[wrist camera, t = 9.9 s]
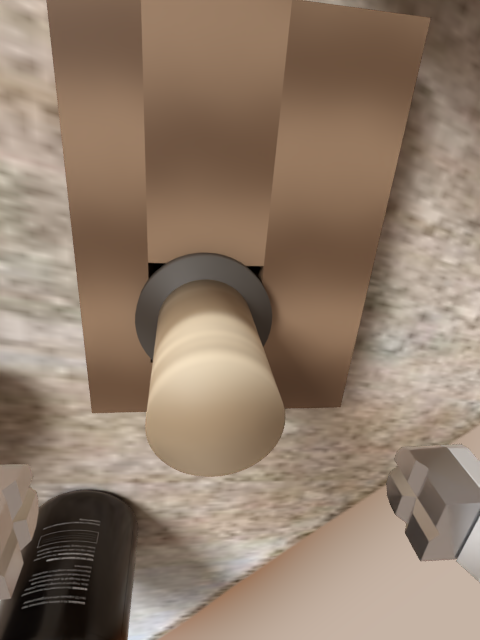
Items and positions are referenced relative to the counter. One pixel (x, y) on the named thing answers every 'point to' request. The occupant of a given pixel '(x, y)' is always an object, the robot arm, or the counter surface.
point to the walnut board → (230, 167)
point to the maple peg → (208, 365)
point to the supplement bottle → (75, 572)
